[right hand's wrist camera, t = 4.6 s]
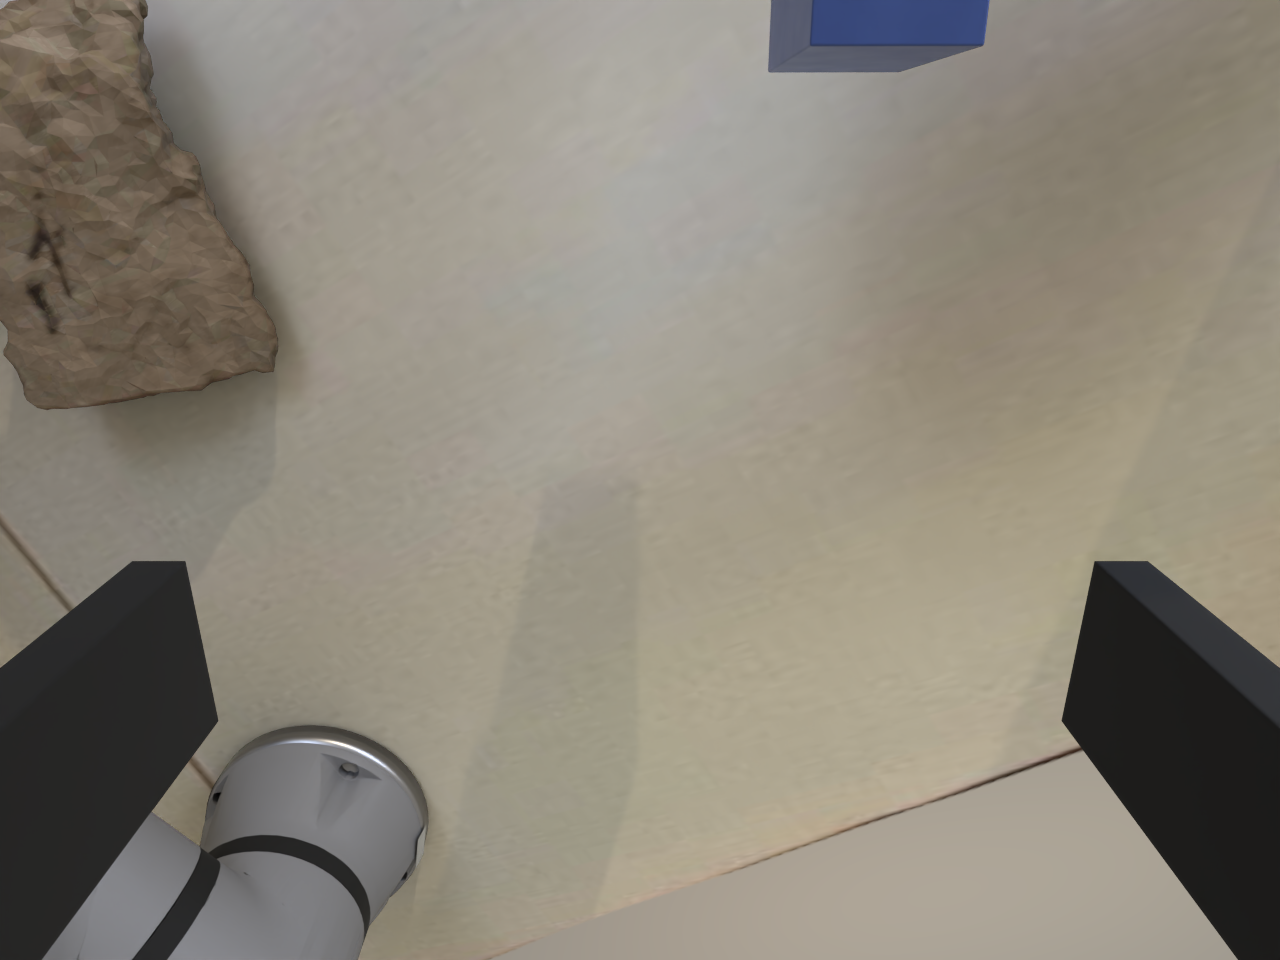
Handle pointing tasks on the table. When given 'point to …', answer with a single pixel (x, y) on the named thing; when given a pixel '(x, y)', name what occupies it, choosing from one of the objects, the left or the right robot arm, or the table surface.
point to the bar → (871, 33)
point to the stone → (108, 222)
